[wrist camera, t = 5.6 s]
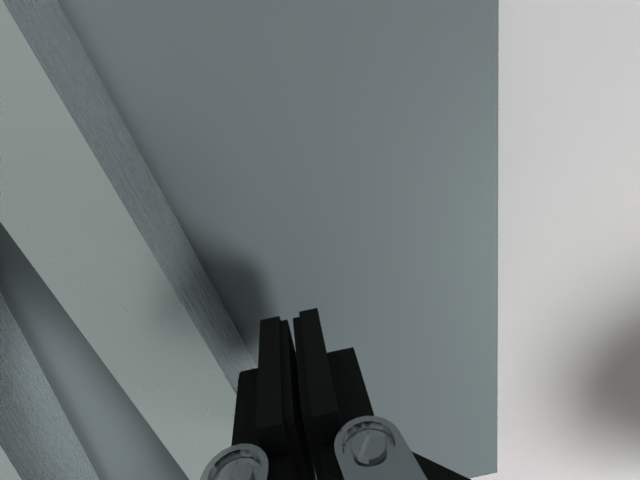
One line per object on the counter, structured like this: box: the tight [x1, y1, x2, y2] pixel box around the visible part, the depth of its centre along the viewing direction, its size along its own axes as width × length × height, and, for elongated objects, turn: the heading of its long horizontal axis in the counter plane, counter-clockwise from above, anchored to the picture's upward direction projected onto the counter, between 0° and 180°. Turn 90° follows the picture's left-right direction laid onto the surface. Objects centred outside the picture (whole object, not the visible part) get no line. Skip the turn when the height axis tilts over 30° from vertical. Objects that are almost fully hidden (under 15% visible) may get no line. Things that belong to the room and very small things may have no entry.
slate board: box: [0, 0, 498, 480], centre depth 12 cm, size 26×20×1 cm
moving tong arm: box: [0, 0, 317, 480], centre depth 10 cm, size 25×5×3 cm, turn 21°
